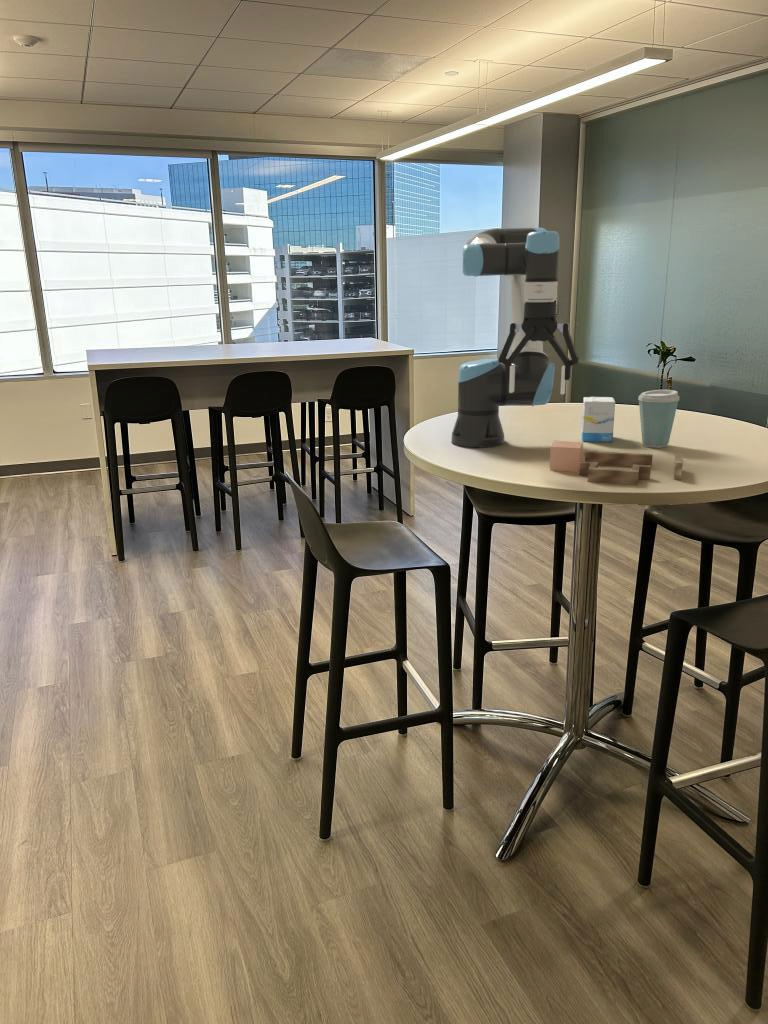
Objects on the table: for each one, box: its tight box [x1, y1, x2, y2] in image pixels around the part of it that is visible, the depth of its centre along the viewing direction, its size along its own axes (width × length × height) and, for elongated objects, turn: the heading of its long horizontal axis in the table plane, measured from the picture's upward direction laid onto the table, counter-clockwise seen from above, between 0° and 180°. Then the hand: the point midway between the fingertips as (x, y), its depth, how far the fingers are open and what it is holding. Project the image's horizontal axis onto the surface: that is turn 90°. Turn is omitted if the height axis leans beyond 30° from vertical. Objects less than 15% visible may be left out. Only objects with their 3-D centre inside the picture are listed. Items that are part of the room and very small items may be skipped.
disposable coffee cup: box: [637, 389, 680, 449], centre depth 205 cm, size 11×11×15 cm
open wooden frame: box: [578, 450, 684, 486], centre depth 178 cm, size 23×18×4 cm
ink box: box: [580, 396, 616, 443], centre depth 215 cm, size 8×8×12 cm
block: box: [549, 440, 584, 473], centre depth 185 cm, size 7×7×6 cm
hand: (536, 392), depth 184 cm, fingers open, 12 cm apart
